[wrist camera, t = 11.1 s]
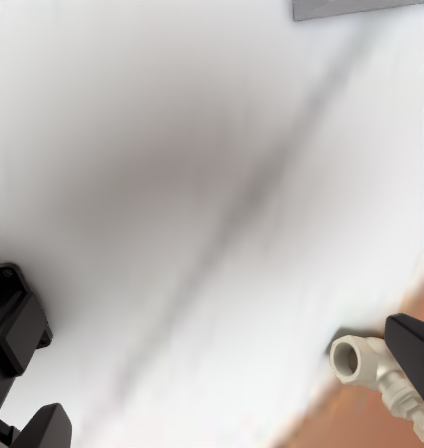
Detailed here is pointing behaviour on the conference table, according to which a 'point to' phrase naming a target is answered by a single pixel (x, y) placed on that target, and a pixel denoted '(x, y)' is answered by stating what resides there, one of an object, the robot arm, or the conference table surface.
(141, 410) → the conference table surface
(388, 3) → the grey square hollow block
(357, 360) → the valve
